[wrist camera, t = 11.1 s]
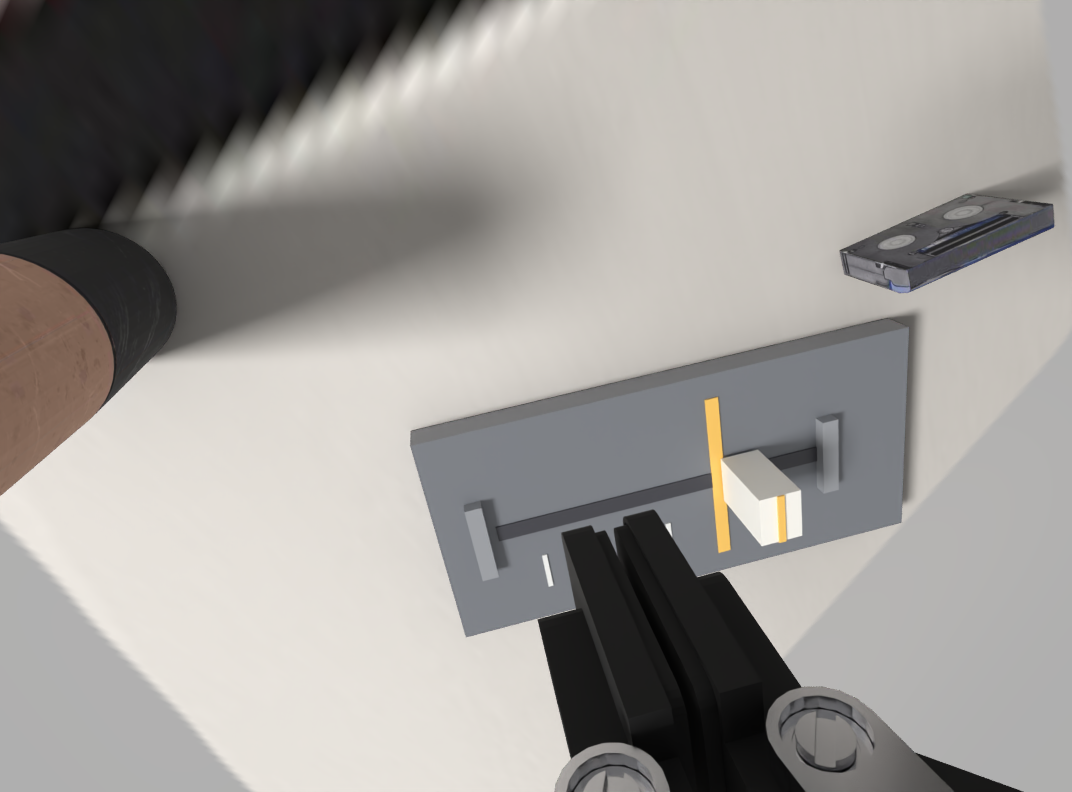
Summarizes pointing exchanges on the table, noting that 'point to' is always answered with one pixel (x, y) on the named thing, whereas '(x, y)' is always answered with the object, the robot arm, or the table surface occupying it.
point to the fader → (762, 497)
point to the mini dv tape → (944, 240)
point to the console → (666, 465)
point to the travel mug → (71, 335)
